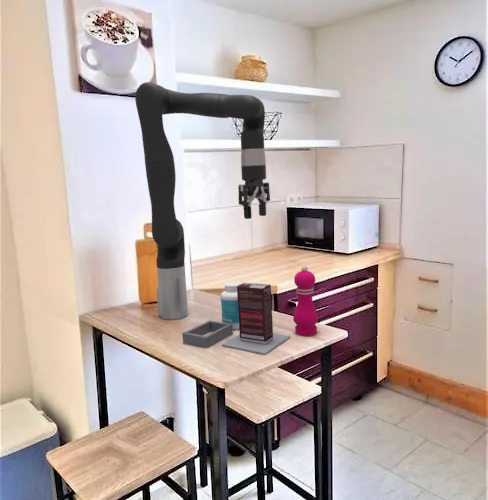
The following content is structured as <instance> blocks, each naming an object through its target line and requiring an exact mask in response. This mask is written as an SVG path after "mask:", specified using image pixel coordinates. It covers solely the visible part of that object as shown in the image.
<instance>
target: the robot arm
mask: <svg viewBox="0 0 488 500" xmlns="http://www.w3.org/2000/svg"><path fill="white" fill-rule="evenodd" d="M134 100H135V107H136V111H137V116H138V120H139V124H140V128H141V137H142V147H143V153H144V154H143V156H144V167H145V174H146V175H145V176H146V181H147V182H146V183H147V188H148V189H147V190H148V193H149V198H150V199H149V200H150V206H151V235H152V239H153V241H154V242H155V244H156V245H157V246H156V247H157V256H156V260H155V261H156V262H155V263H156V275H157V286H158V288H157V289H156V300H157V303H156V304H157V312H158V314H157V315H158V317H160V318H161V319H164V320H180V319H182V318H186V317H188V315H189V310H188V309H189V308H188V307H189V306H188V295H187V294H188V292H187V280H186V279H187V278H186V265H185V264H186V263H185V257H186V249H185V248H186V247H185V243H186V242H185V232H184V227H183V224H182V223H181V221H179V220H178V219H177V215H176V210H175V192H176V179H177V177H176V167H175V166H176V165H175V156H174V153H173V150H172V147H171V144H170V143H169V140H168V137H167V135H166V131H165V128H164V121H163V118H164V117H163V115H171V114H175V115H176V114H189V115H194V116H202V117H208V118H209V117H210V118H217V119H229V118H232V119H239V120H242V122H243V123H242V124H243V125H242V126H243V127H242V131H241V133H240V148H241V149H240V150H241V151H240V165H241V166H240V167H241V168H240V169H241V170H240V171H241V172H240V173H241V180H242V181H244V184H238V205H241V206H242V207H243V217H244V218H243V219H245V220H250V219H252V217H253V216H252V203H253V201H255V199H256V200H257V202H258V203H259V204H258V215H259V216H260V217H264V216H267V204H268V202H271V194H270V193H271V192H270V182H264V180H267V167H266V166H267V164H266V163H267V162H266V161H267V160H266V152H265V136H264V135H265V134H264V132H265V131H264V130H265V129H264V128H265V120H266V110H265V105H264V102H263V101H262V100H261V99H259V98H257V97H256V96H254V95H250V94H225V93H218V92H217V93H214V92H195V93H193V92H191V93H190V92H189V93H188V92H179V91H176V90H172V89H168V88H165V87H164V86H162V85H159V84H156V83H153V82H142V83H141V84H140V85H139V86H138V87H137V89H136V92H135V99H134Z"/></svg>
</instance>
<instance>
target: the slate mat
mask: <svg viewBox="0 0 488 500" xmlns="http://www.w3.org/2000/svg"><path fill="white" fill-rule="evenodd" d="M290 339H291V335H285V334H278V333H274V332H273V340H271V341H270V342H269V343H267V344H261V343H254V342H248V341H241V340H240V333H239V334H237V335H236V336H234V337H232V338H230V339H229V340H227V341H225V342H223V343H221V347H223V348H224V347H225V348H230V349H233V350H238V351H244V352H247V353H253V354H257V355H263V356H266V355H267V354H269V353H270V352H273V351H274V350H275V349H277V348H278V347H279V346H281V345H282V344H284V343H285V342H287V341H288V340H290Z"/></svg>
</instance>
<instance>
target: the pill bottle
mask: <svg viewBox="0 0 488 500" xmlns="http://www.w3.org/2000/svg"><path fill="white" fill-rule="evenodd" d="M240 284H241V283H239V282H227V283H225V284H224V289H225V290H223V291H222V293H221V294H220V305H221V307H220V308H221V322H222V323H228V324H232V329H233V330H239V314H238V297H237V286H238V285H240Z"/></svg>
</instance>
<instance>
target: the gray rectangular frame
mask: <svg viewBox="0 0 488 500" xmlns="http://www.w3.org/2000/svg"><path fill="white" fill-rule="evenodd" d="M233 331H234V329H232V324H228V323H222V321H216V320H207V321H205V322H203V323H201V324H199V325H196V326H194V327H193V328H191V329H188V330H186V331H184V332H182V343H183V344H185V343H186V344H185V345H189V346H194V347H199V348H204V349H208V348H210V347H211V346H214V345H215V344H217V343H219V342H221V341H222V340H224V339H227V338H228V337H230V336H232V335H233V334H234V333H233ZM208 333H209V334H208Z"/></svg>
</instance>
